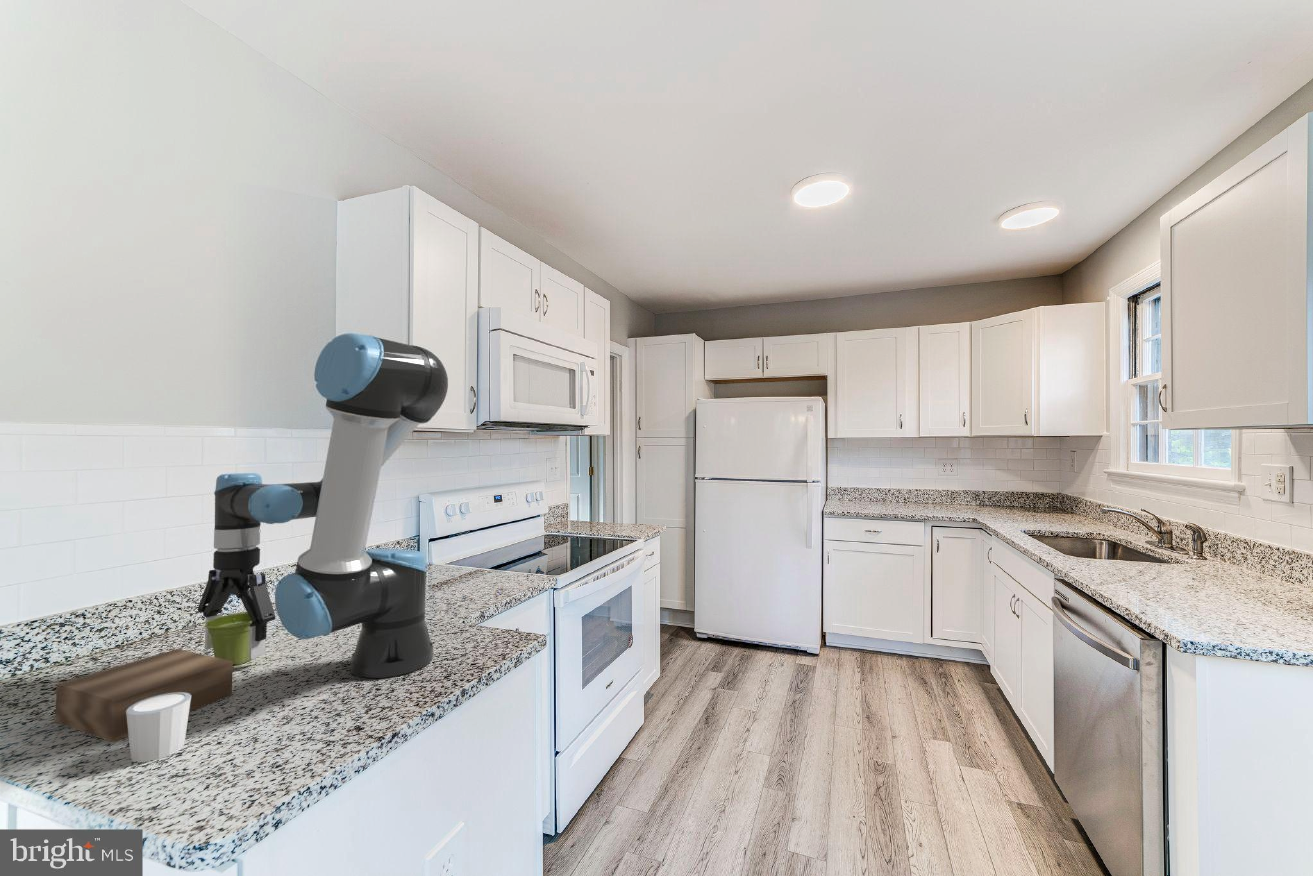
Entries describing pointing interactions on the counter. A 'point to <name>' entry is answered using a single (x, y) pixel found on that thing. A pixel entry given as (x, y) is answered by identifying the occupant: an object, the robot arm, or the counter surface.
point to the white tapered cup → (158, 726)
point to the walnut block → (139, 690)
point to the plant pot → (231, 637)
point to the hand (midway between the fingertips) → (234, 651)
